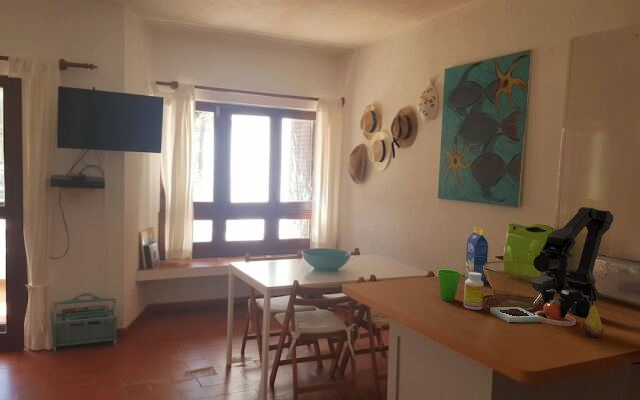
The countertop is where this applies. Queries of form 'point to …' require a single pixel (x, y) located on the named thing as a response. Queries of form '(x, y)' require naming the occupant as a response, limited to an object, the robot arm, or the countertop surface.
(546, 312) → the tomato
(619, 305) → the countertop surface
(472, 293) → the supplement bottle
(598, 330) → the fruit
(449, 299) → the cup
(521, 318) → the tray
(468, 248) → the blue food package
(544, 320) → the saucer ring
